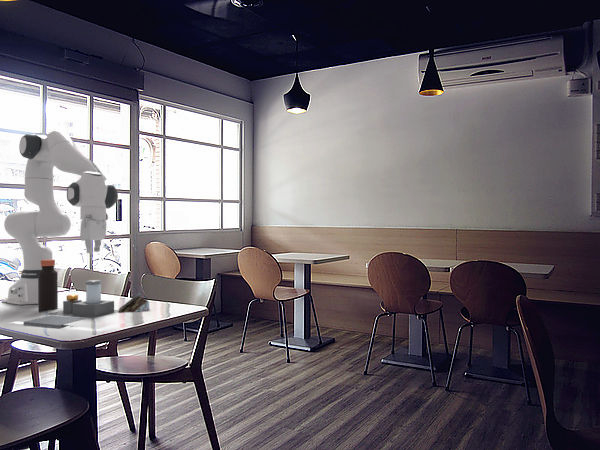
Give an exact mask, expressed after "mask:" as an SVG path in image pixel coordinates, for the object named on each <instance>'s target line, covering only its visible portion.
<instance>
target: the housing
mask: <svg viewBox="0 0 600 450" xmlns="http://www.w3.org/2000/svg"><path fill="white" fill-rule="evenodd" d="M62 304H63V305H62V310H58V311H54V312H49V313H46V315H49V316H51V315H52V316H64V317H75V318H87V319H97V318H100V317H105V316H108V315H112V314H116V313H119V312H118V310H119V309H115V301H114V300H104V299H101V303H98V304H86V300H82V299H78V300H75V301H73V302H70V300H67V299H66V300H63V302H62Z"/></svg>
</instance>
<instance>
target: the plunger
mask: <svg viewBox="0 0 600 450" xmlns="http://www.w3.org/2000/svg"><path fill="white" fill-rule="evenodd" d="M67 300H70V302H73V301H75V300H79V295H78V294H69V295H67V294H66V301H67Z"/></svg>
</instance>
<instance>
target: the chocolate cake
mask: <svg viewBox="0 0 600 450" xmlns="http://www.w3.org/2000/svg"><path fill="white" fill-rule="evenodd" d="M117 310H118V312H117V313H137V312H144V311H145V312H146V311H149V310H150V302H149V300H148V299H145V298H143V297H142V296H141V292H138V294H136V295H135V296H133V297H132V298H131V299H130V300H128V301H127V302H126V303H125V304H123V305H121V307H120V308H119V309H117Z"/></svg>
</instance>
